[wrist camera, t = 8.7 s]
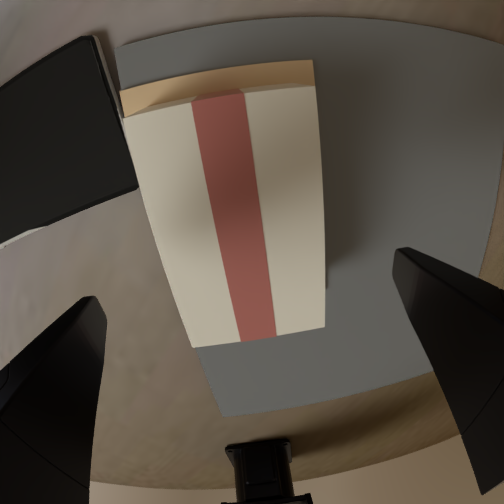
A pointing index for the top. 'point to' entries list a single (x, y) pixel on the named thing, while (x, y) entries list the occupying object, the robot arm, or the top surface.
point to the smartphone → (61, 140)
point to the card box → (236, 208)
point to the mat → (352, 180)
